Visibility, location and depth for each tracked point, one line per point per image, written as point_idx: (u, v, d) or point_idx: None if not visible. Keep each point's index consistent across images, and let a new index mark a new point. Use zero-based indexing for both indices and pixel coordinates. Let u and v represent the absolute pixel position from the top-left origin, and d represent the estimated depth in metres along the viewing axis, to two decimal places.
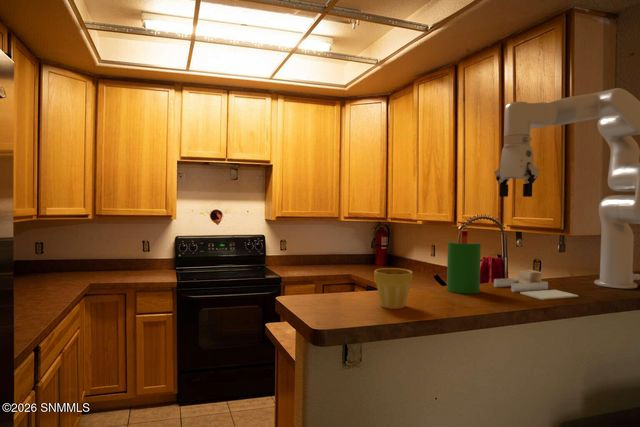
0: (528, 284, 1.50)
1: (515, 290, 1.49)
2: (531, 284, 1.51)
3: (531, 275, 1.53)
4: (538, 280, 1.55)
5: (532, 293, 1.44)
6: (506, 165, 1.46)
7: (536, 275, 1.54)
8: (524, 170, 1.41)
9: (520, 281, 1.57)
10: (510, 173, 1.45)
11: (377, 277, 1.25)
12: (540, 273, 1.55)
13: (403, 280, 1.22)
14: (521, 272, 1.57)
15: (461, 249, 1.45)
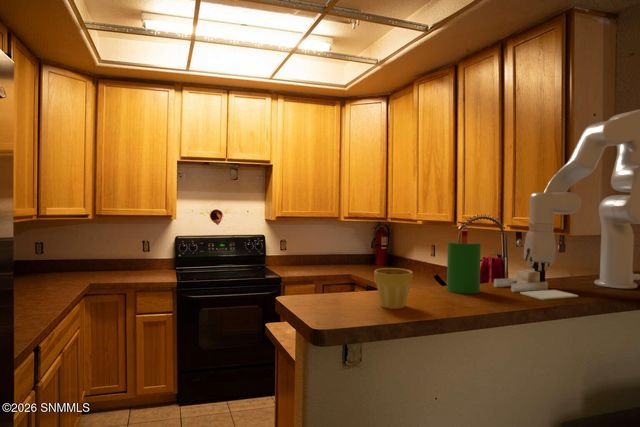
0: (528, 284, 1.50)
1: (515, 290, 1.49)
2: (531, 284, 1.51)
3: (529, 275, 1.53)
4: (536, 280, 1.54)
5: (532, 293, 1.44)
6: (542, 250, 1.55)
7: (534, 275, 1.54)
8: None
9: (518, 281, 1.57)
10: (545, 258, 1.56)
11: (377, 277, 1.25)
12: (538, 273, 1.54)
13: (403, 280, 1.22)
14: (519, 272, 1.57)
15: (461, 249, 1.45)
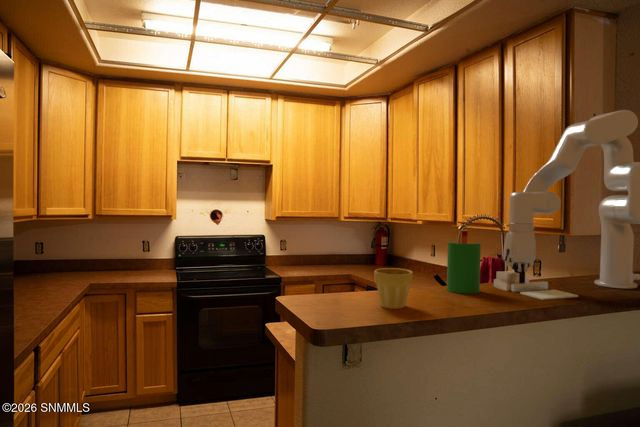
0: (528, 284, 1.50)
1: (515, 290, 1.49)
2: (531, 284, 1.51)
3: (508, 276, 1.50)
4: (515, 281, 1.51)
5: (532, 293, 1.44)
6: (521, 251, 1.52)
7: (513, 276, 1.51)
8: None
9: (497, 282, 1.54)
10: (524, 258, 1.53)
11: (377, 277, 1.25)
12: (518, 274, 1.52)
13: (403, 280, 1.22)
14: (498, 273, 1.54)
15: (461, 249, 1.45)
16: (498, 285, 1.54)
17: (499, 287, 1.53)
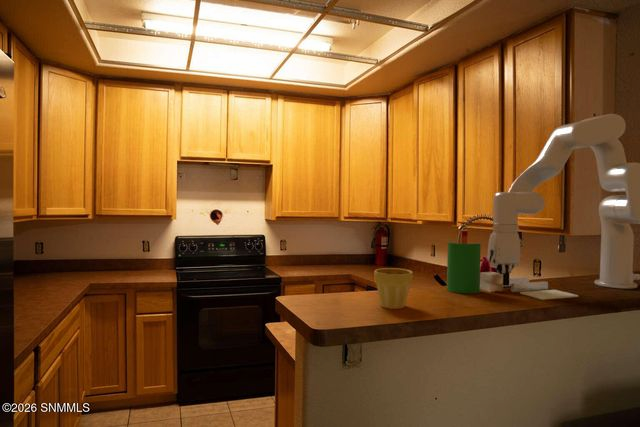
0: (528, 284, 1.50)
1: (515, 290, 1.49)
2: (531, 284, 1.51)
3: (492, 277, 1.48)
4: (499, 282, 1.49)
5: (532, 293, 1.44)
6: (505, 252, 1.50)
7: (497, 277, 1.49)
8: None
9: (481, 283, 1.52)
10: (509, 260, 1.51)
11: (377, 277, 1.25)
12: (501, 275, 1.49)
13: (403, 280, 1.22)
14: (482, 274, 1.52)
15: (461, 249, 1.45)
16: (482, 286, 1.52)
17: (483, 288, 1.51)
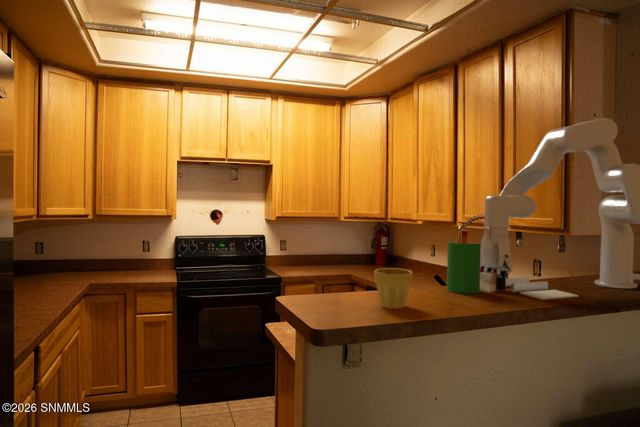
0: (528, 284, 1.50)
1: (515, 290, 1.49)
2: (531, 284, 1.51)
3: (491, 277, 1.48)
4: None
5: (532, 293, 1.44)
6: None
7: (497, 277, 1.49)
8: None
9: (481, 283, 1.52)
10: None
11: (377, 277, 1.25)
12: None
13: (403, 280, 1.22)
14: (482, 274, 1.52)
15: (461, 249, 1.45)
16: (481, 286, 1.52)
17: (482, 288, 1.51)
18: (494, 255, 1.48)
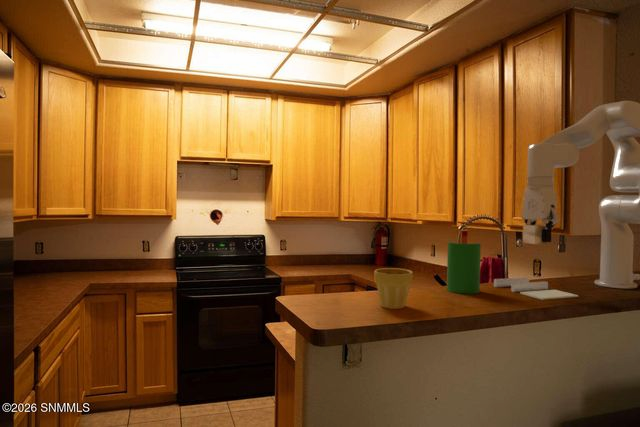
0: (528, 284, 1.50)
1: (515, 290, 1.49)
2: (531, 284, 1.51)
3: (536, 229, 1.42)
4: None
5: (532, 293, 1.44)
6: None
7: None
8: None
9: (524, 236, 1.45)
10: None
11: (377, 277, 1.25)
12: None
13: (403, 280, 1.22)
14: (525, 226, 1.45)
15: (461, 249, 1.45)
16: (525, 239, 1.45)
17: (526, 241, 1.45)
18: (539, 205, 1.41)
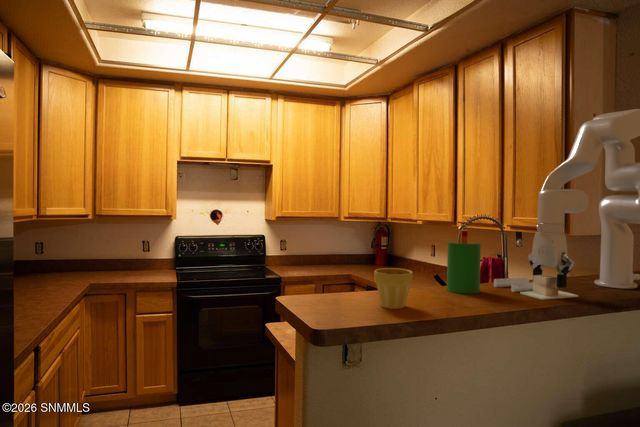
0: (528, 284, 1.50)
1: (515, 290, 1.49)
2: (531, 284, 1.51)
3: (547, 280, 1.40)
4: (555, 286, 1.41)
5: (532, 293, 1.44)
6: None
7: (552, 280, 1.41)
8: None
9: (535, 287, 1.44)
10: None
11: (377, 277, 1.25)
12: None
13: (403, 280, 1.22)
14: (536, 277, 1.44)
15: (461, 249, 1.45)
16: (535, 290, 1.44)
17: (536, 292, 1.43)
18: (550, 253, 1.40)
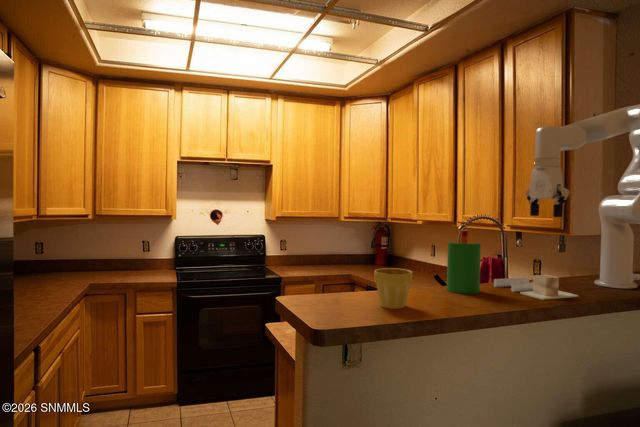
0: (528, 284, 1.50)
1: (515, 290, 1.49)
2: (531, 284, 1.51)
3: (547, 280, 1.40)
4: (555, 286, 1.41)
5: (532, 293, 1.44)
6: None
7: (552, 280, 1.41)
8: None
9: (535, 287, 1.44)
10: None
11: (377, 277, 1.25)
12: (557, 278, 1.42)
13: (403, 280, 1.22)
14: (536, 277, 1.44)
15: (461, 249, 1.45)
16: (535, 290, 1.44)
17: (536, 292, 1.43)
18: (546, 185, 1.49)
